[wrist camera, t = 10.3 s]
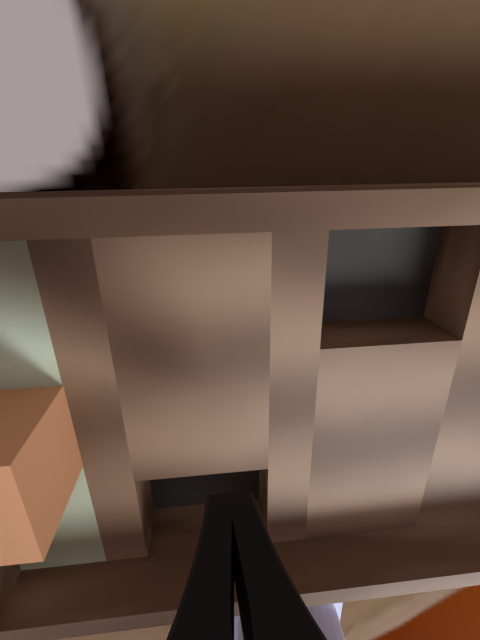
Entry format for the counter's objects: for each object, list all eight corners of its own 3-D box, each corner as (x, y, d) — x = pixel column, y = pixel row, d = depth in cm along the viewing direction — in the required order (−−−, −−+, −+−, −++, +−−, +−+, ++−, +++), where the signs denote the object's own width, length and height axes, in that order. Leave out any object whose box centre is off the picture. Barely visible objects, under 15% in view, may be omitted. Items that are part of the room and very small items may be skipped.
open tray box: (519, 479, 22) (611, 567, 17) (32, 528, 20) (-26, 649, 15) (635, 178, 16) (845, 178, 10) (-86, 194, 13) (-271, 205, 8)
